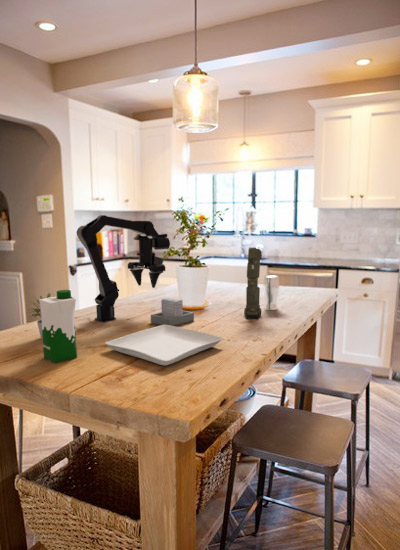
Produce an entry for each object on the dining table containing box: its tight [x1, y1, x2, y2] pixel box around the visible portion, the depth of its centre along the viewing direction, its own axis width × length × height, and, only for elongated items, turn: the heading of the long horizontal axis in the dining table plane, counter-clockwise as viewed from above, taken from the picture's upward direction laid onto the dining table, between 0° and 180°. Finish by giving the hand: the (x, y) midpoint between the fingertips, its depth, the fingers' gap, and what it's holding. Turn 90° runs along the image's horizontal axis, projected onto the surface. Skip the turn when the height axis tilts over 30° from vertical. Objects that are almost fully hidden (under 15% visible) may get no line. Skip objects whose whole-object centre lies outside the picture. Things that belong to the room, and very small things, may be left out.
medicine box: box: [160, 297, 184, 318], centre depth 161 cm, size 8×4×9 cm, turn 49°
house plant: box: [28, 292, 57, 341], centre depth 141 cm, size 14×14×16 cm
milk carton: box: [38, 289, 78, 364], centre depth 120 cm, size 9×9×20 cm
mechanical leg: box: [243, 246, 263, 320], centre depth 171 cm, size 14×7×30 cm, turn 168°
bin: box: [150, 310, 195, 327], centre depth 161 cm, size 14×11×4 cm
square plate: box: [104, 325, 224, 366], centre depth 128 cm, size 27×27×4 cm
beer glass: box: [263, 274, 280, 311], centre depth 183 cm, size 7×7×15 cm
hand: (146, 286), depth 174 cm, fingers open, 9 cm apart
